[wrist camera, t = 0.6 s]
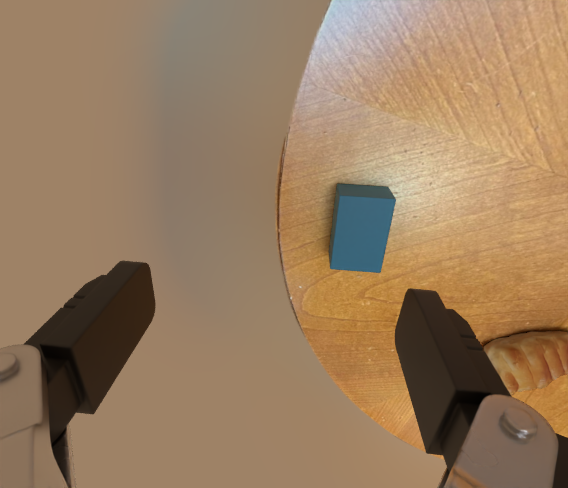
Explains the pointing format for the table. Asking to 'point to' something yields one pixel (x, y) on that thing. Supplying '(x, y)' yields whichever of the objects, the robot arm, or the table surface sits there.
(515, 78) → the table surface
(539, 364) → the pastry
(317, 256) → the table surface
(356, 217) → the blue rectangular block
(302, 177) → the table surface
